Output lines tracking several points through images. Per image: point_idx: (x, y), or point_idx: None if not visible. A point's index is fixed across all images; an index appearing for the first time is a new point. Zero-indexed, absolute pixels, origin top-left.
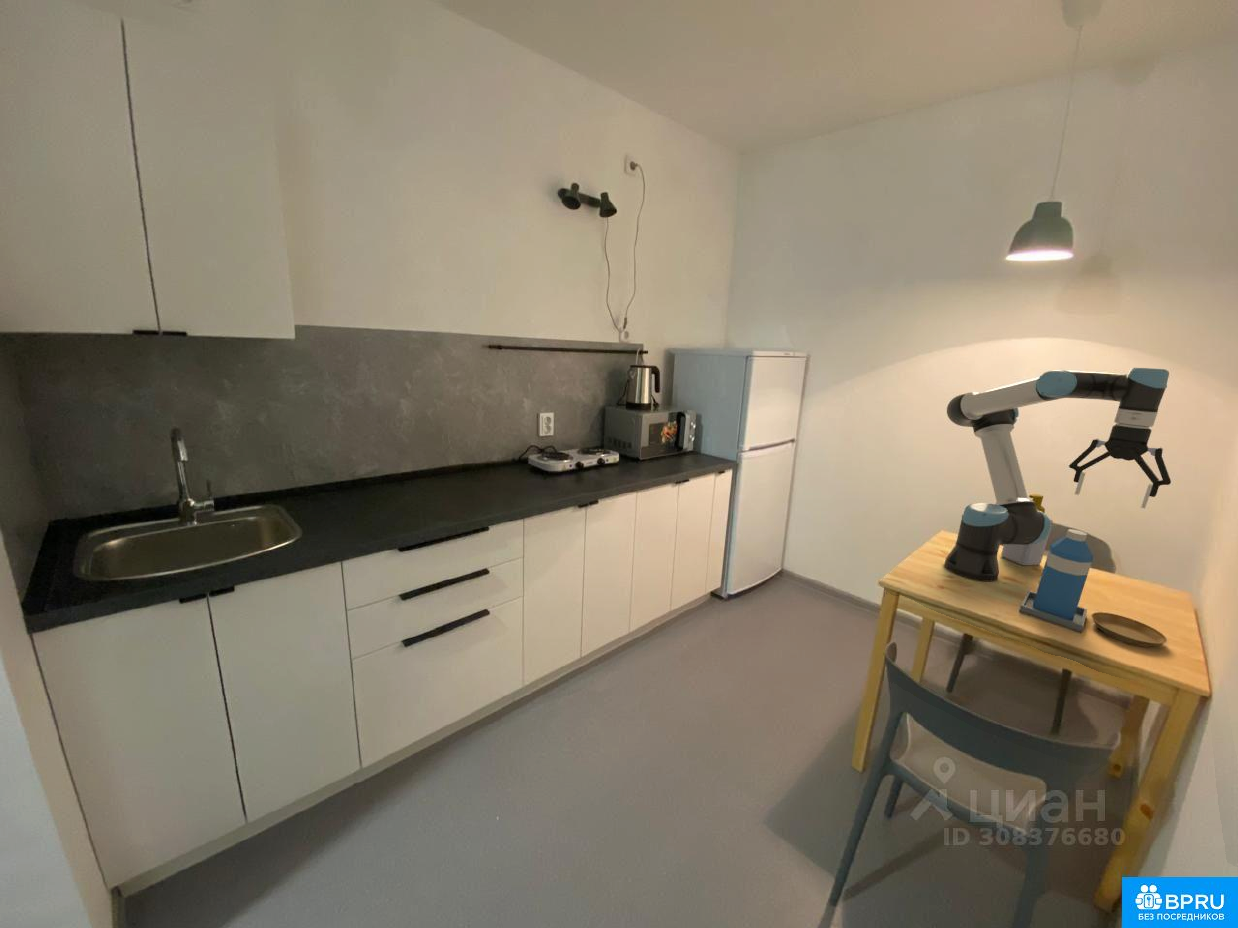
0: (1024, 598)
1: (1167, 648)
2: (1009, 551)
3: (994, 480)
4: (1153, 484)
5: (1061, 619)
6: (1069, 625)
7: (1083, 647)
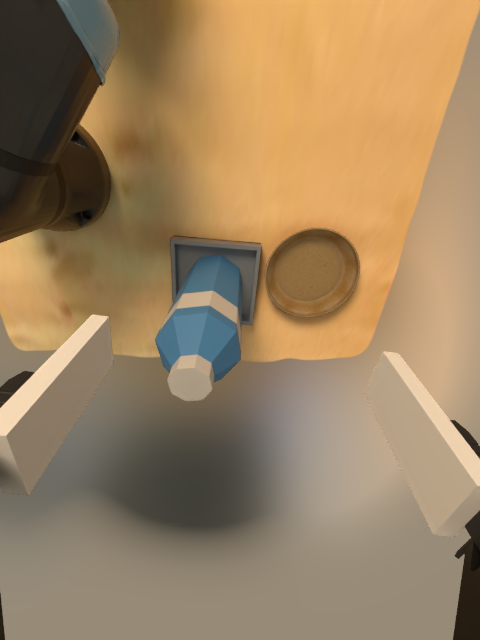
0: (172, 285)
1: None
2: None
3: None
4: (472, 530)
5: None
6: None
7: (252, 358)
